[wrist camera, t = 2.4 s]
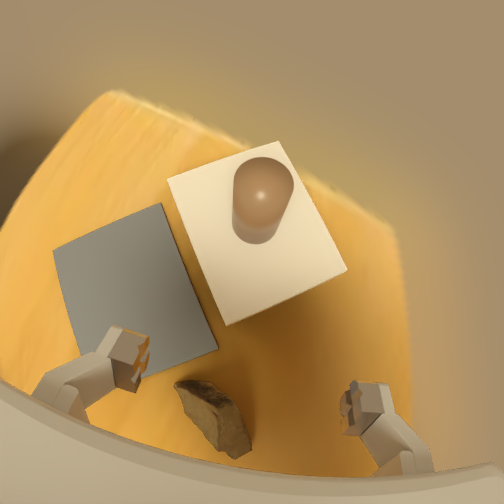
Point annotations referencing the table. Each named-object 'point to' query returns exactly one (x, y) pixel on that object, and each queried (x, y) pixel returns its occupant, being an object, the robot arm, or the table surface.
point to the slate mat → (133, 289)
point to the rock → (215, 416)
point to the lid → (254, 231)
